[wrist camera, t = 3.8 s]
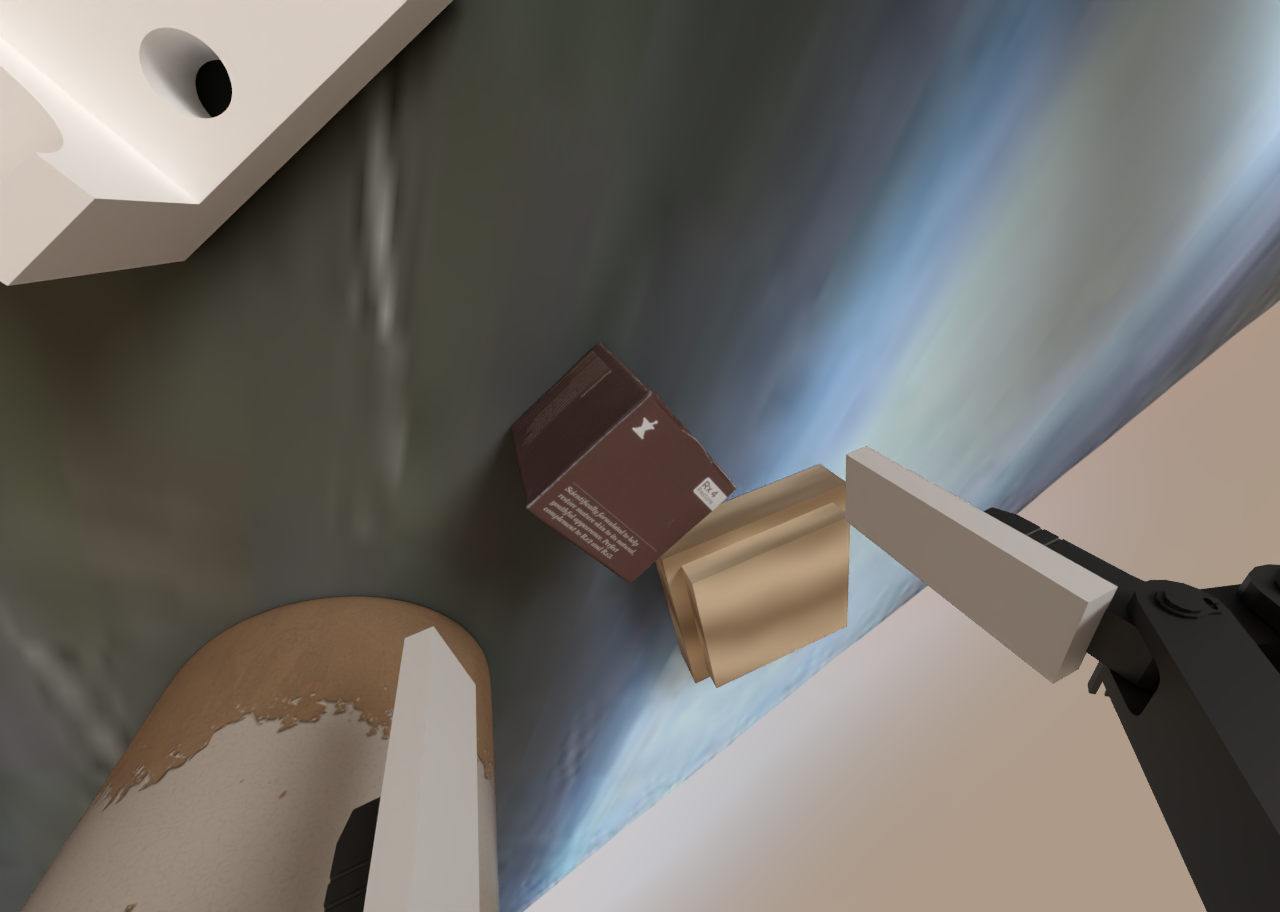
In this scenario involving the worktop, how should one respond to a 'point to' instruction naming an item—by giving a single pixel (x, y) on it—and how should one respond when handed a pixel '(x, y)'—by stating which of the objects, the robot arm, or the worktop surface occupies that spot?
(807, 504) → the plinth
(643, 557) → the box
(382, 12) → the bracket
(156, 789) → the vase
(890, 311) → the worktop surface
